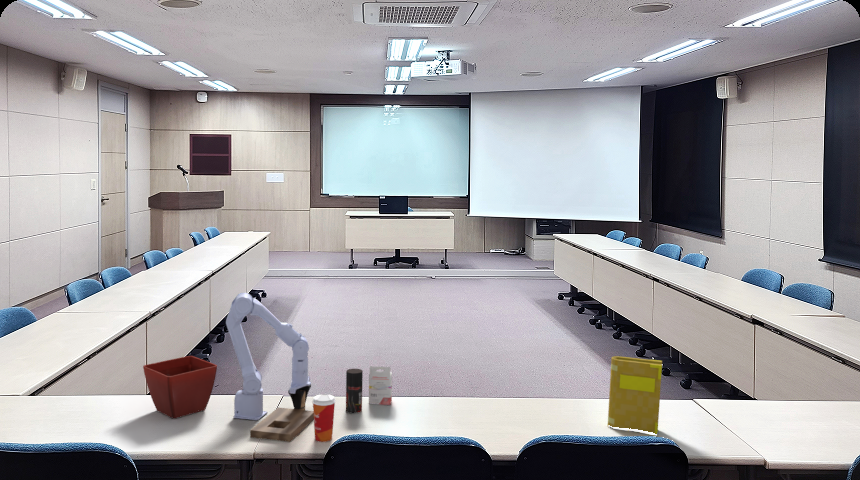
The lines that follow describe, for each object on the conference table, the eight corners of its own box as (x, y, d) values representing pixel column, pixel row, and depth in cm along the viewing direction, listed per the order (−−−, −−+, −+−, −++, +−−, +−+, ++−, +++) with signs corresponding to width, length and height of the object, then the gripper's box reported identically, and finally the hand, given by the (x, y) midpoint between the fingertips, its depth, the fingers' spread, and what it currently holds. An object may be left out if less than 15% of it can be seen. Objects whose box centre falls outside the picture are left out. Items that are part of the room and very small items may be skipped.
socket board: (250, 437, 221) (250, 430, 221) (278, 414, 243) (278, 407, 242) (290, 441, 218) (290, 434, 218) (314, 418, 240) (314, 411, 240)
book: (657, 429, 238) (662, 360, 236) (657, 436, 232) (662, 365, 229) (608, 422, 244) (612, 355, 241) (606, 429, 237) (610, 359, 235)
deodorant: (359, 414, 245) (359, 374, 244) (343, 412, 246) (344, 372, 245) (363, 408, 251) (364, 369, 249) (348, 407, 252) (349, 368, 250)
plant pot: (142, 410, 243) (141, 364, 241) (191, 397, 257) (191, 354, 255) (168, 424, 230) (168, 376, 228) (218, 410, 244) (218, 365, 243)
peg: (292, 414, 243) (292, 393, 242) (296, 410, 247) (296, 389, 246) (302, 415, 242) (302, 394, 241) (307, 411, 246) (307, 390, 245)
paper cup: (312, 434, 225) (313, 393, 224) (335, 434, 226) (336, 393, 225) (310, 443, 218) (311, 401, 216) (334, 443, 218) (335, 401, 217)
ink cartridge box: (391, 400, 260) (392, 363, 259) (390, 405, 255) (391, 367, 254) (369, 399, 261) (370, 362, 259) (368, 404, 256) (368, 366, 254)
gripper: (302, 377, 235) (302, 414, 236) (317, 365, 249) (317, 401, 250) (283, 375, 236) (283, 412, 237) (299, 364, 250) (299, 399, 252)
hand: (299, 406), depth 244 cm, fingers closed on peg, 4 cm apart
